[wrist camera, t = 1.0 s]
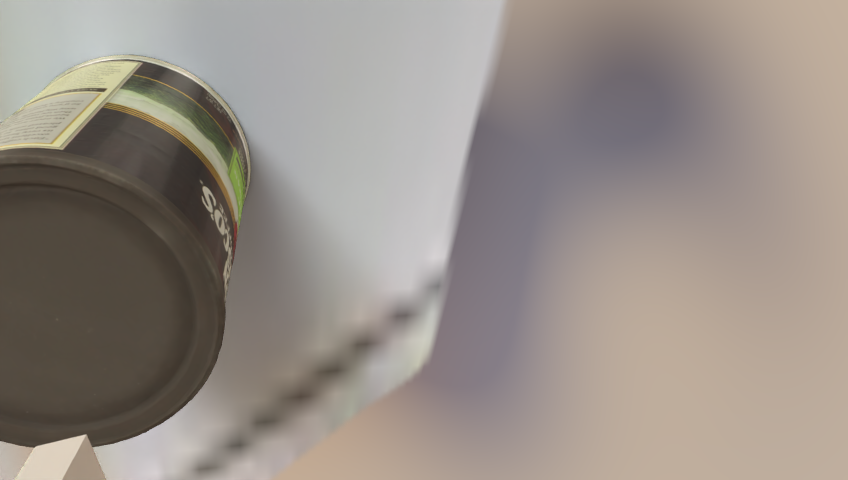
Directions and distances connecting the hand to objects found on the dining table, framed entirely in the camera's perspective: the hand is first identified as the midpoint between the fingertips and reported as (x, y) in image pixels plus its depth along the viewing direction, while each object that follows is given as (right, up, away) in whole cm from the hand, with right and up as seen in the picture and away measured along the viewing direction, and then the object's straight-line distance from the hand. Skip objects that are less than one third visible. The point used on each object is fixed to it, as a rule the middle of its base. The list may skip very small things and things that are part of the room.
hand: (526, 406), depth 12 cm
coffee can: (-15, +6, +24) cm, 29 cm away
